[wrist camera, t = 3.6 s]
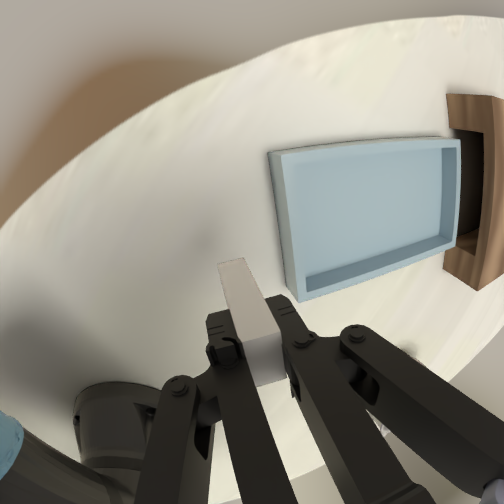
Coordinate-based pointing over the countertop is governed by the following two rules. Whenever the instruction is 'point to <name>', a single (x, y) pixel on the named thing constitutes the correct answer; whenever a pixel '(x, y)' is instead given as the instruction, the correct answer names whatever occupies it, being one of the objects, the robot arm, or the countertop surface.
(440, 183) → the tray
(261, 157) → the countertop surface
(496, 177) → the shelf
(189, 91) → the countertop surface
